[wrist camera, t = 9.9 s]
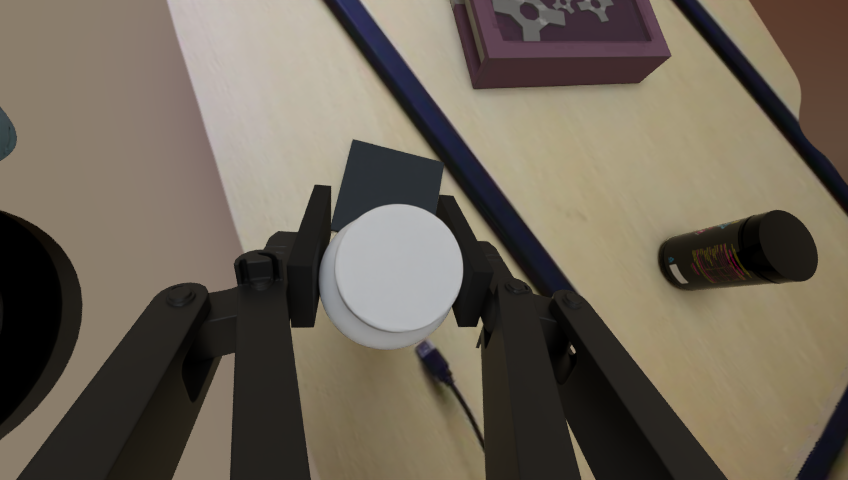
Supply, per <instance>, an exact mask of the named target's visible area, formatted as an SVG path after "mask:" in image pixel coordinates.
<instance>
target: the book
mask: <svg viewBox="0 0 848 480" xmlns="http://www.w3.org/2000/svg"><path fill="white" fill-rule="evenodd" d="M450 2H451V6H452V10H453V11H454V15H455V19H456V23H457V26H458V30H459V34H460V38H461V42H462V46H463V50H464V54H465V57H466V61H467V65H468V69H469V73H470V77H471V81H472V85H473V88H503V87H531V86H559V85H588V84H616V83H640V82H641V81H642V80H643V79H644V78H646V77H647V76H648V75H649V74H650V73H652V72H653V71H654V70H655V69H656V68H658V67H659V66H660V65H661V64H662V63H664V62H665V61H666V60H667V59H669V58H670V57H671V53H670V51H669V49H668V46H667V44H666V41H665V39H664V36H663V34H662V31H661V29H660V26H659V24H658V21H657V19H656V16H655V14H654V11H653V9H652V6H651V4H650V1H649V0H450Z"/></svg>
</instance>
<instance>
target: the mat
mask: <svg viewBox="0 0 848 480" xmlns="http://www.w3.org/2000/svg"><path fill="white" fill-rule="evenodd" d="M443 167H444V163H443V162H439V161H436V160H432V159H428V158H424V157H420V156H416V155H412V154H408V153H404V152H401V151H397V150H393V149H389V148H385V147H381V146H377V145H373V144H370V143H366V142H362V141H358V140H354V139H353V141H352V145H351V149H350V152H349V156H348V160H347V164H346V168H345V172H344V176H343V180H342V184H341V188H340V192H339V196H338V200H337V204H336V207H335V211H334V215H333V219H332V223H331V231H336V232H339V231H340V230H341V229H342V228H344V227H345V226H346V225H348V224H349V223H351V222H352V221H354V220H356V219H358V218H359V217H360V216H362V215H363V214H365V213H366V212H368V211H370V210H372V209H375V208H377V207H381V206H384V205H391V204H405V205H411V206H415V207H419V208H421V209H424V210H426V211H428V212H430V213H431V214H433V215H436V209H437V203H438V197H439V191H440V185H441V179H442V173H443Z"/></svg>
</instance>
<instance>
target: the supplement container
mask: <svg viewBox="0 0 848 480" xmlns="http://www.w3.org/2000/svg"><path fill="white" fill-rule="evenodd" d="M660 263H661V267H662V270H663V272H664V274H665V275H666V277H667V278H668V279H669V280H670V281H671V282H672V283H673V284H674V285H676V286H678V287H679V288H682V289H685V290H691V291H692V290H704V289H716V288H727V287H739V286H750V285H762V284H773V283H774V284H782V283H789V282H801V281H806V280H808V279H810V278H811V277H812V276H813V275H814V273H815V271H816V269H817V264H818V254H817V249H816V245H815V242H814V240H813V238H812V236H811V234H810V232H809V231H808V229H807V228H806V227H805V225H804V224H803V223H802V222H801V221H800V220H799V219H798V218H796V217H795V216H793V215H792V214H790V213H788V212H785V211H781V210H774V211H769V212H766V213H762V214H758V215H753V216H750V217H748V218H744V219H740V220H736V221H732V222H729V223H725V224H721V225H717V226H713V227H709V228H705V229H702V230H698V231H694V232H690V233H686V234H682V235H678V236H675V237H672V238H670V239H669V240H668V241H667V242H665V244H664V245H663V247H662V249H661V253H660Z"/></svg>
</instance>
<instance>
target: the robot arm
mask: <svg viewBox="0 0 848 480" xmlns="http://www.w3.org/2000/svg"><path fill="white" fill-rule="evenodd" d="M16 141H17V136H16V131H15V128H14V126H13V124H12V122H11V121H10V119H9V118H8V116H7V115H6V113H5V112H4V111H3V110H2V108H1V107H0V161H1V160H2V159H4V158H5V157H7V156H8V155H9V154H10V153H11V152H12V151H13V149H14V148H15V146H16ZM435 216H436V217H437V218H439V219H440V220H441V221H442V222H443V223H444V224H445V225H446V226H447V227H448V228H449V229H450V231H451V232H452V234H453V235H454V237H455V239H456V241H457V243H458V246H459V248H460V252H461V255H462V260H463V278H462V284H461V288H460V290H459V293H458V296H457V298H456V300H455V301H454V303H453V304H452V308H453V312H454V315H455V318H456V321H457V324H458V327H477V324H478V321H479V318H480V317H481V319H482V322H483V327H482V330H481V333H480V336H479V339H478V342H477V346H476V348H479V346H480V344H481V359H482V387H483V415H484V443H485V471H486V480H581V476H580V472H579V468H578V464H577V461H576V457H575V453H574V449H573V445H572V441H571V438H570V434H569V430H568V426H567V422H568V424H569V426H570V428H571V430H572V432H573V434H574V436H575V438H576V440H577V442H578V444H579V447H580V449H581V451H582V453H583V455H584V457H585V459H586V461H587V463H588V465H589V467H590V469H591V471H592V473H593V475H594V477H595V479H596V480H728V479H727V478H726V477H725V475H724V474H723V473H722V472H721V470H720V469H719V468H718V466H717V465H716V464H715V463H714V461H713V460H712V459H711V458H710V456H709V455H708V454H707V452H706V451H705V450H704V449H703V447H702V446H701V445H700V444H699V442H698V441H697V440H696V438H695V437H694V436H693V435H692V433H691V432H690V431H689V430H688V428H687V427H686V426H685V425H684V423H683V422H682V421H681V419H680V418H679V417H678V416H677V414H676V413H675V412H674V411H673V409H672V408H671V407H670V405H669V404H668V403H667V402H666V400H665V399H664V398H663V397H662V395H661V394H660V393H659V392H658V390H657V389H656V388H655V386H654V385H653V384H652V383H651V381H650V380H649V379H648V378H647V376H646V375H645V374H644V372H643V371H642V370H641V369H640V367H639V366H638V365H637V364H636V362H635V361H634V360H633V359H632V357H631V356H630V355H629V353H628V352H627V351H626V350H625V348H624V347H623V346H622V345H621V343H620V342H619V341H618V339H617V338H616V337H615V336H614V334H613V333H612V332H611V331H610V329H609V328H608V327H607V326H606V324H605V323H604V322H603V320H602V319H601V318H600V317H599V315H598V314H597V313H596V312H595V310H594V309H593V308H592V306H591V305H590V304H589V303H588V302H587V301H586V300H585V299H584V298H583V297H582V296H580V295H578V294H577V293H575V292H572V291H568V290H558V291H556V292H555V293H554V295H553V297H552V298H548V297H544V296H540V295H536V294H533V292H532V290H531V288H530V287H529V286H528V285H527V284H526V283H525V282H523V281H521V280H519V279H516V278H514V277H513V276H512V274H511V272H510V271H509V269H508V267H507V266H506V264H505V262H503V259H502V258H501V256H500V254H499V253H498V251H497V249H496V248H495V247H494V246H493V245H491V244H490V243H489V242H488V241H477V239H476V237H475V235H474V233H473V232H472V230H471V228H470V226H469V224H468V222H467V220H466V219H465V217H464V215H463V213H462V211H461V209H460V207H459V206H458V204H457V202H456V200H455V198H454V196H448V195H439V199H438V204H437V210H436V215H435ZM330 237H331V186H326V185H315V186H314V189H313V191H312V194H311V197H310V200H309V203H308V206H307V208H306V211H305V214H304V217H303V220H302V222H301V225H300V228H299V231H298V232H284V231H278V232H276V233H275V234H274V235H272V236H271V237H270V238H269V240H268V242H267V244H266V247H265V248H264V250H254V251H249V252H247V253H244V254H242V255H241V256H239V257H238V258H237V259H236V260H235V263H234V268H235V273H236V279H237V284H238V286H237V287H235V288H232V289H228V290H223V291H218V292H212V293H208V290H207V289H206V287H205V286H203V285H201V284H198V283H182V284H177V285H174V286H171V287H168V288H166V289H165V290H163V291H161V292H160V293H159V294H157V295H156V296H155V297H154V298H153V300H152V301H151V302H150V304H149V305H148V306H147V308H146V309H145V310H144V312H143V313H142V314H141V315H140V317H139V318H138V320H137V321H136V322H135V323H134V325H133V326H132V327H131V329H130V330H129V331H128V333H127V334H126V335H125V337H124V338H123V339H122V341H121V342H120V343H119V345H118V346H117V347H116V349H115V350H114V351H113V353H112V354H111V355H110V356H109V358H108V359H107V360H106V362H105V363H104V365H103V366H102V367H101V368H100V370H99V371H98V372H97V374H96V375H95V376H94V378H93V379H92V380H91V382H90V383H89V384H88V386H87V387H86V388H85V389H84V391H83V392H82V393H81V395H80V396H79V397H78V399H77V400H76V401H75V403H74V404H73V405H72V407H71V408H70V409H69V411H68V412H67V413H66V414H65V416H64V417H63V418H62V420H61V421H60V422H59V424H58V425H57V426H56V428H55V429H54V430H53V432H52V433H51V434H50V436H49V437H48V438H47V440H46V441H45V442H44V444H43V445H42V446H41V448H40V449H39V451H37V453H36V454H35V455H34V457H33V458H32V459H31V461H30V462H29V464H28V465H27V466H26V467H25V469H24V470H23V471H22V473H21V474H20V475H19V477H18V478H17V479H16V480H172V478H173V475H174V473H175V470H176V468H177V466H178V463H179V461H180V458H181V456H182V453H183V451H184V448H185V446H186V443H187V441H188V438H189V436H190V434H191V431H192V429H193V426H194V424H195V421H196V419H197V417H198V414H199V412H200V409H201V407H202V404H203V402H204V399H205V397H206V394H207V392H208V389H209V387H210V385H211V382H212V380H213V377H214V375H215V372H216V370H217V367H218V365H219V363H220V360H221V358H222V356H223V355H227V354H231V353H235V368H234V392H233V393H234V394H233V419H232V442H231V468H230V480H311V478H310V471H309V463H308V456H307V448H306V441H305V433H304V426H303V418H302V411H301V403H300V396H299V388H298V381H297V374H296V366H295V359H294V351H293V344H292V336H291V329H290V319H291V328H304V327H314V324H315V318H316V313H317V308H318V302H319V297H320V293H319V284H318V278H319V269H320V264H321V261H322V258H323V255H324V253H325V251H326V249H327V247H328V245H329V242H330ZM3 323H4V302H3V296H2V293H1V290H0V335H1V332H2V328H3ZM571 345H573V347H574V349H575V351H576V353H575V354H574V353H573V352H572V350H571V348H570V347H571ZM566 420H567V422H566Z"/></svg>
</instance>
